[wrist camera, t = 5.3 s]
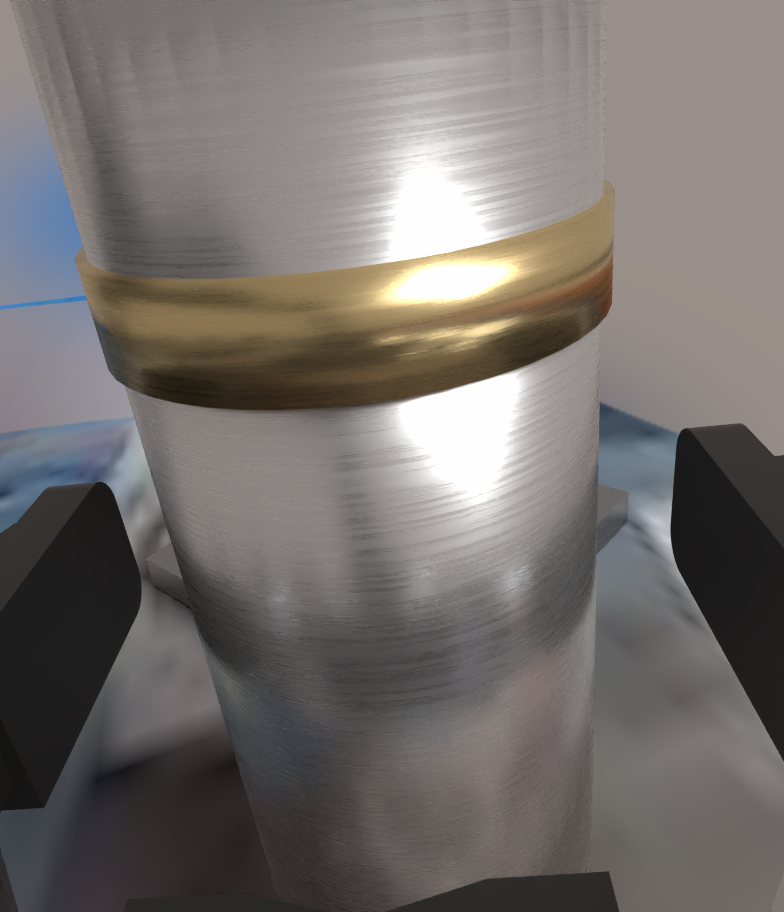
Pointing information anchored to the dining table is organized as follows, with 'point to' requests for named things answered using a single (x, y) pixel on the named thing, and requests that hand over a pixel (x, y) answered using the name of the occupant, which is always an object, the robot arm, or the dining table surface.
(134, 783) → the dining table surface
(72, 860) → the dining table surface
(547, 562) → the steel tube
